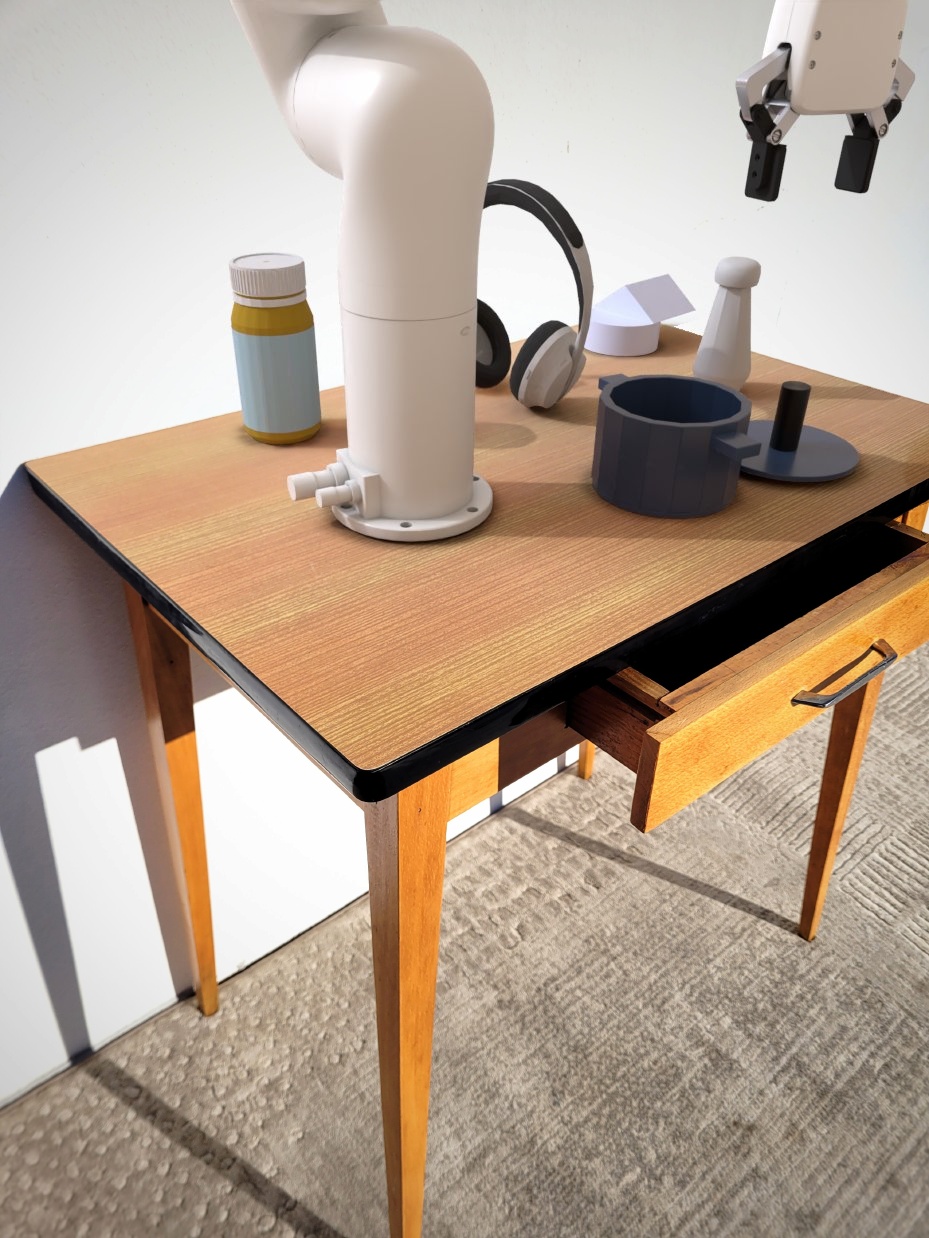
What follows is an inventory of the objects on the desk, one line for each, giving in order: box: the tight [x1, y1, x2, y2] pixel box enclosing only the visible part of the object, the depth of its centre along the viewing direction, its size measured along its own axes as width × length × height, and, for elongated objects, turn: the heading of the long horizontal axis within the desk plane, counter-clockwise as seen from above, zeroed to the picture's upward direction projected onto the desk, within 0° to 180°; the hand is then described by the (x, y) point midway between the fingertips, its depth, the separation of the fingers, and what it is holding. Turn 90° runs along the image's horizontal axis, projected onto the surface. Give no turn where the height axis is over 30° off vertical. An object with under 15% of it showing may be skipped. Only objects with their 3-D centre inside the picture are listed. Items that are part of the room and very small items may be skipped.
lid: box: [740, 380, 860, 483], centre depth 79 cm, size 13×13×7 cm
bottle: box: [228, 251, 322, 445], centre depth 80 cm, size 7×7×15 cm
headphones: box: [475, 178, 595, 409], centre depth 88 cm, size 19×8×20 cm, turn 45°
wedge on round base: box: [584, 273, 697, 357], centre depth 108 cm, size 9×7×13 cm
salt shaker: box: [692, 256, 762, 392], centre depth 92 cm, size 6×6×13 cm
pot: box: [590, 373, 762, 519], centre depth 74 cm, size 12×17×8 cm
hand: (806, 195), depth 75 cm, fingers open, 9 cm apart
